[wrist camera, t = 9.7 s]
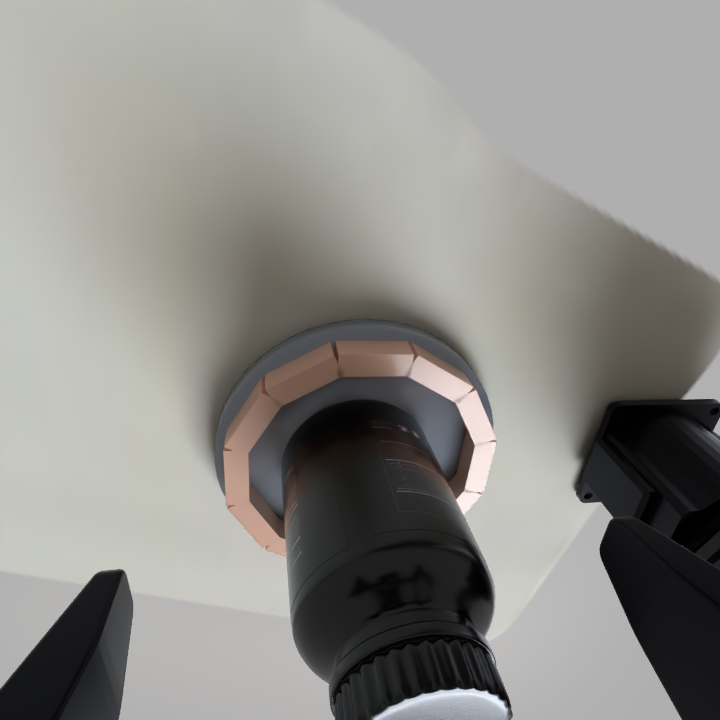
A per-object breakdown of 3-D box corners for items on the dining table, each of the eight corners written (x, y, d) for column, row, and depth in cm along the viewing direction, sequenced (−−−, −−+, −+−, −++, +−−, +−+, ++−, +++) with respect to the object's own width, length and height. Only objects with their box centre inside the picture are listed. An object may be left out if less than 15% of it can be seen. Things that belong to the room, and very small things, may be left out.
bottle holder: (511, 320, 23) (533, 343, 21) (460, 531, 29) (473, 563, 27) (209, 317, 21) (203, 342, 19) (222, 546, 27) (219, 583, 25)
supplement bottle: (364, 527, 26) (428, 821, 16) (251, 473, 24) (241, 787, 13) (456, 436, 24) (597, 703, 14) (344, 365, 22) (419, 634, 11)
